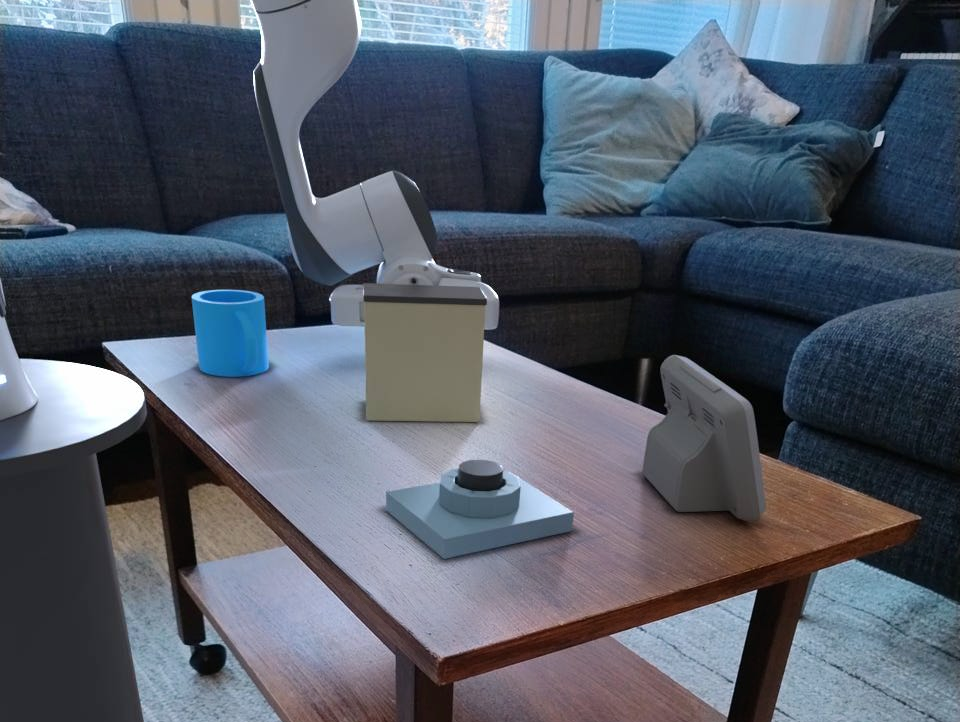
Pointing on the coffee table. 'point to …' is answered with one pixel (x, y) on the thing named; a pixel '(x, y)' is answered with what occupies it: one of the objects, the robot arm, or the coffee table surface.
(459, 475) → the timer button
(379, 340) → the box
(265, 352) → the mug
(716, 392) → the digital clock
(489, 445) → the coffee table surface
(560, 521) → the box
